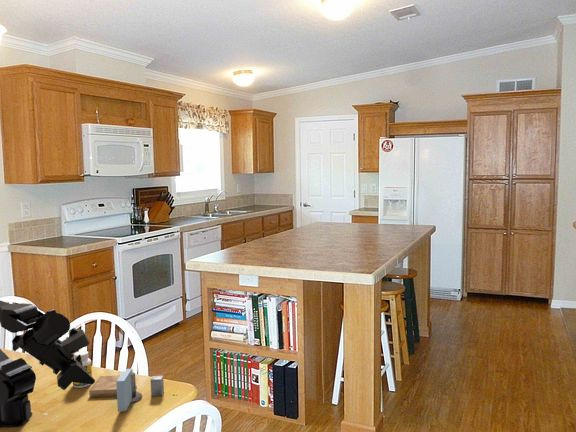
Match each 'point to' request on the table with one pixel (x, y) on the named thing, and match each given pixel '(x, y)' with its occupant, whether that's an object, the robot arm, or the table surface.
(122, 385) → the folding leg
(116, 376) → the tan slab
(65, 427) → the table surface
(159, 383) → the bracket
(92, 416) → the table surface
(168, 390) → the table surface
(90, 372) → the supplement bottle
